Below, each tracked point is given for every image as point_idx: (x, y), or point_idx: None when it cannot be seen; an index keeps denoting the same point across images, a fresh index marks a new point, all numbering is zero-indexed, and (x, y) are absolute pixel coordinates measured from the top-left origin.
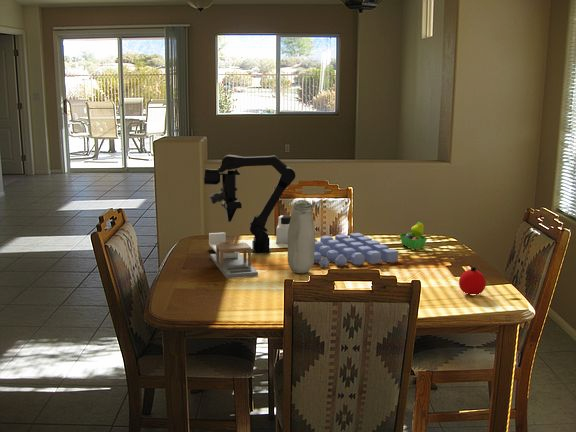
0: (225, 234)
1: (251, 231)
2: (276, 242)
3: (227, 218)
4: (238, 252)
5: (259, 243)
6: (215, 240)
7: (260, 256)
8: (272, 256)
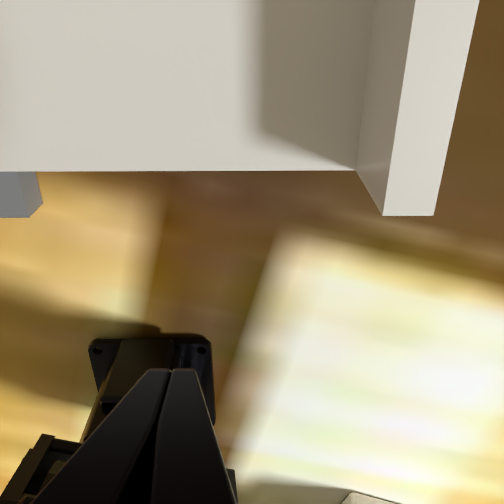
0: (377, 205)
1: (46, 482)
2: (352, 495)
3: (167, 414)
4: (16, 213)
5: (87, 422)
6: (379, 39)
7: (14, 346)
8: (13, 408)
